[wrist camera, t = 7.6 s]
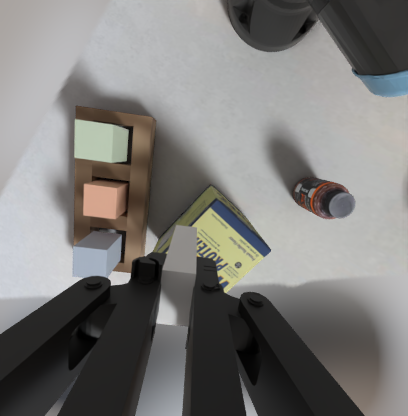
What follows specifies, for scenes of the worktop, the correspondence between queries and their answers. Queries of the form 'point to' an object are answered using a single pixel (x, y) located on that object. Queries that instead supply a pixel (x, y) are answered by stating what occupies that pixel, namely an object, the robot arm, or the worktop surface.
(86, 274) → the slate upright cuboid
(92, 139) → the sage rectangular block
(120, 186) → the peach rectangular prism
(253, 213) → the worktop surface
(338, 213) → the supplement bottle
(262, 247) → the protein box
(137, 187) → the walnut board
